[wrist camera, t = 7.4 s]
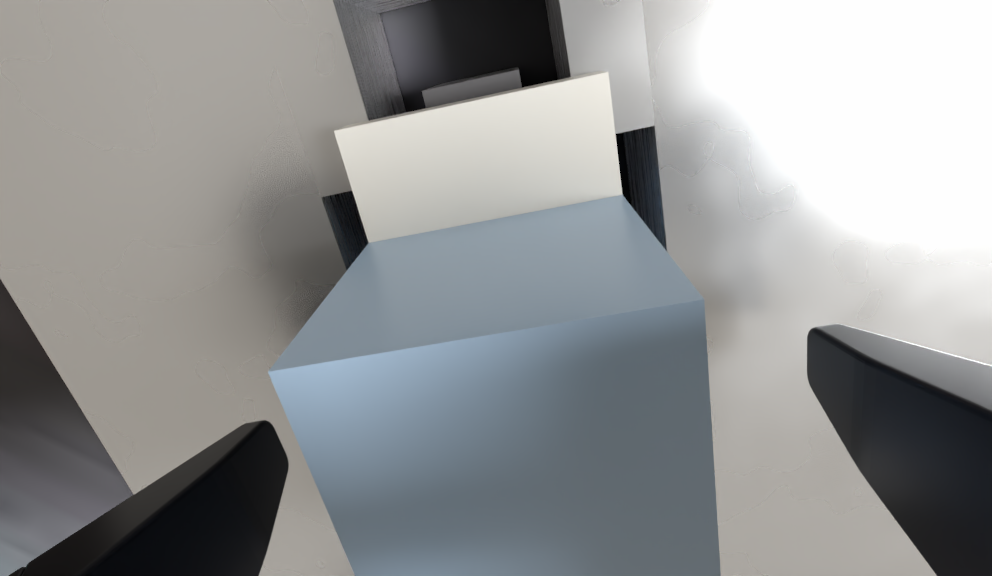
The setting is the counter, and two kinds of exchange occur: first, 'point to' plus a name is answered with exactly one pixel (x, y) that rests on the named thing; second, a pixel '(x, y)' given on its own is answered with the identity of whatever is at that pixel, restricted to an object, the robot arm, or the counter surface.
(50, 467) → the counter surface
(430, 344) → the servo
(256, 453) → the robot arm
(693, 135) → the white flat slab
